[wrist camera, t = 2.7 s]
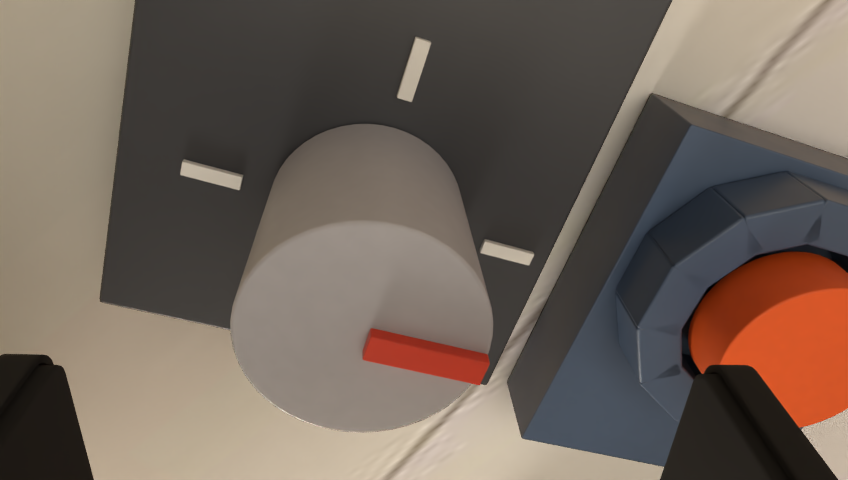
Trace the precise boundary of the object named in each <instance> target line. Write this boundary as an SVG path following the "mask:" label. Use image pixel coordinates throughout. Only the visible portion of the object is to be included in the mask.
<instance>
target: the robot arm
mask: <svg viewBox="0 0 848 480" xmlns="http://www.w3.org/2000/svg"><path fill="white" fill-rule="evenodd" d="M0 480H94V479H93V475H92V472H91V468H90V464H89V460H88V456H87V453H86V449H85V445H84V441H83V437H82V434H81V430H80V426H79V422H78V419H77V415H76V411H75V407H74V403H73V400H72V396H71V392H70V388H69V384H68V381H67V377H66V373H65V371H64V368H63V367H62V366H59V365H54V364H53V362H52V360H51V358H50V357H49V356H47V355H28V354H3V355H1V356H0ZM660 480H838V479H837V478H836V476H835V475H834V474H833V472H832V471H831V470H830V468H829V467H828V466H827V464H826V463H825V462H824V460H823V459H822V458H821V456H820V455H819V454H818V452H817V451H816V450H815V448H814V447H813V446H812V444H811V443H810V442H809V440H808V439H807V438H806V436H805V435H804V434H803V432H802V431H801V430H800V428H799V427H798V426H797V424H796V423H795V422H794V420H793V419H792V418H791V416H790V415H789V414H788V412H787V411H786V410H785V408H784V407H783V406H782V404H781V403H780V402H779V400H778V399H777V398H776V396H775V395H774V394H773V392H772V391H771V390H770V388H769V387H768V386H767V384H766V383H765V382H764V380H763V379H762V378H761V376H760V375H759V374H758V372H757V371H756V370H755V369H754V368H753V367H751V366H749V365H710V366H708V367H707V368H706V370H705V372H704V374H698V375H697V376H696V377H695V379H694V381H693V383H692V386H691V389H690V392H689V395H688V398H687V401H686V404H685V407H684V410H683V413H682V416H681V419H680V422H679V425H678V428H677V431H676V434H675V437H674V440H673V443H672V446H671V449H670V452H669V455H668V458H667V461H666V464H665V467H664V470H663V473H662V476H661V479H660Z"/></svg>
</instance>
